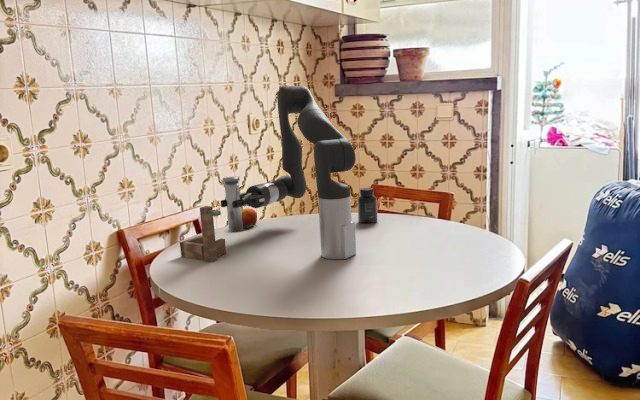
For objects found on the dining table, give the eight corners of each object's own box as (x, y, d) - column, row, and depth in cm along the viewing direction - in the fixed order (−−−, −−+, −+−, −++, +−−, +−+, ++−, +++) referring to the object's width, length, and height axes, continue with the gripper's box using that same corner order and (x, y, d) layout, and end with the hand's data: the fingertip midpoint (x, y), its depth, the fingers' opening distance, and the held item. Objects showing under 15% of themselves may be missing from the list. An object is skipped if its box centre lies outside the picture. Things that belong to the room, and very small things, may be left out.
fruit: (250, 227, 198) (240, 207, 199) (238, 236, 202) (228, 216, 204) (266, 222, 204) (256, 202, 205) (253, 231, 209) (244, 212, 210)
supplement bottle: (380, 220, 202) (379, 187, 200) (372, 224, 197) (370, 190, 194) (364, 219, 206) (362, 186, 204) (355, 223, 200) (353, 190, 198)
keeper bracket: (241, 255, 168) (236, 202, 165) (220, 263, 160) (214, 209, 157) (201, 249, 177) (196, 199, 174) (180, 257, 170) (174, 205, 167)
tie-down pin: (247, 229, 179) (242, 176, 176) (236, 233, 175) (231, 179, 172) (235, 228, 182) (230, 176, 179) (224, 231, 178) (219, 178, 175)
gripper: (245, 183, 192) (209, 191, 178) (278, 184, 184) (243, 193, 170) (247, 204, 193) (212, 215, 179) (280, 206, 185) (245, 217, 171)
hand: (227, 204), depth 175 cm, fingers closed on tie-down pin, 4 cm apart
